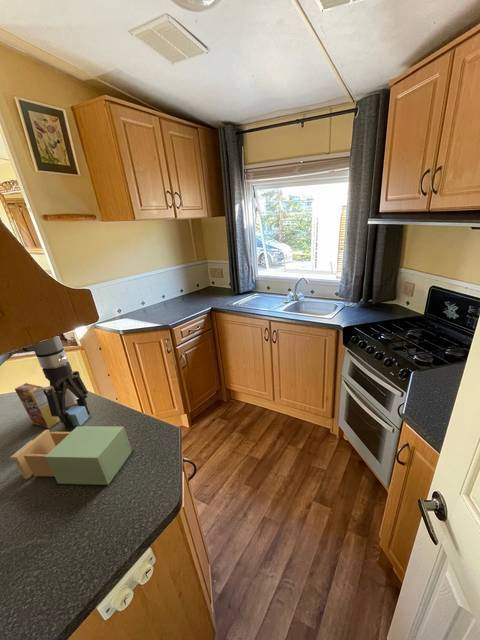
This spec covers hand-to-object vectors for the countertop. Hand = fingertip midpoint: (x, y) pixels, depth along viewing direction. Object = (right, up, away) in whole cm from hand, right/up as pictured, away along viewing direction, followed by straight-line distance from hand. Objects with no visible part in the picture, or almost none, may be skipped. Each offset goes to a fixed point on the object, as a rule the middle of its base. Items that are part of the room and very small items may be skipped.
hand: (78, 421), depth 105 cm
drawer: (+6, -8, -20) cm, 23 cm away
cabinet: (+19, -9, -21) cm, 30 cm away
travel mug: (-10, +4, +11) cm, 16 cm away
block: (0, 0, 0) cm, 0 cm away
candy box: (-12, -1, 0) cm, 12 cm away
